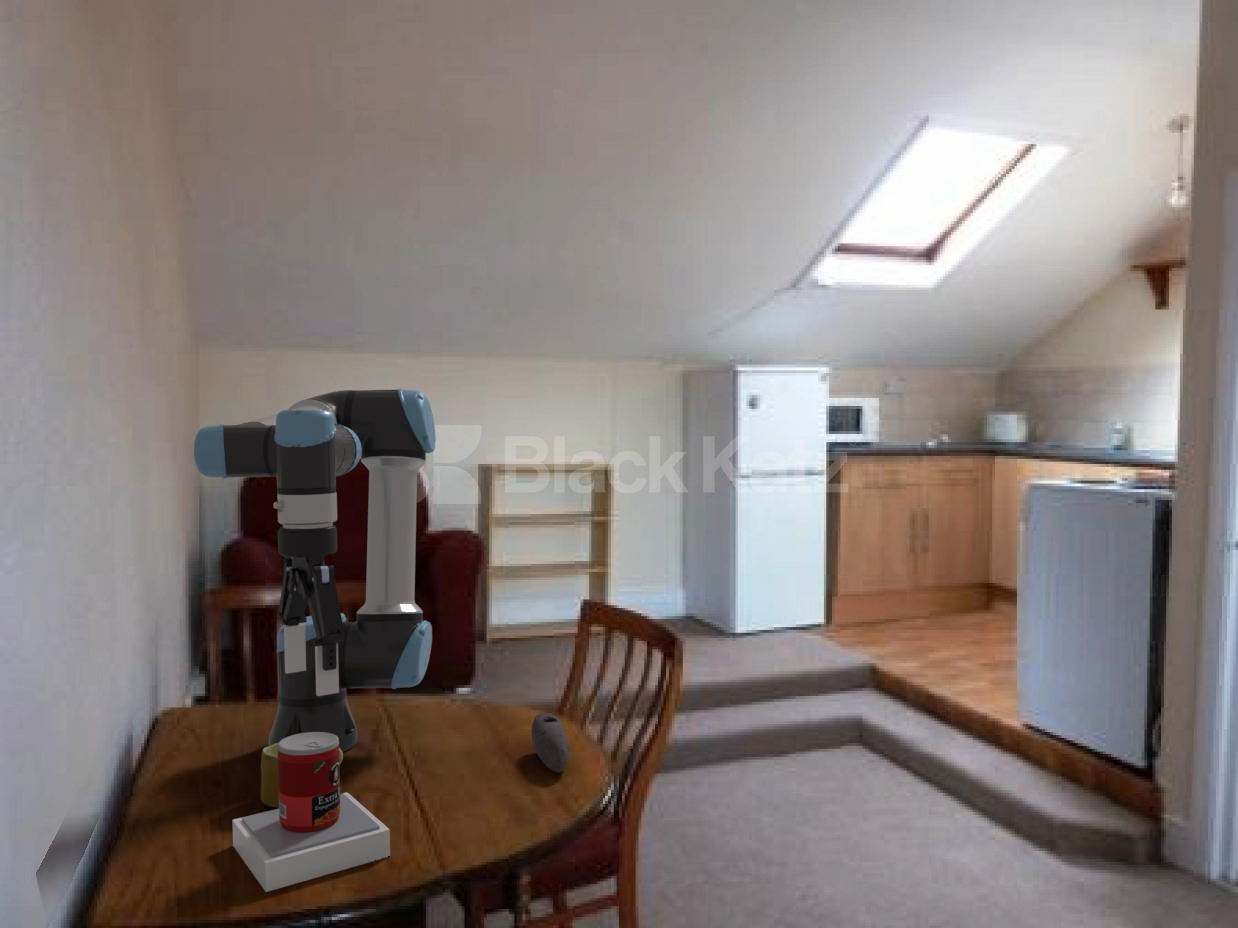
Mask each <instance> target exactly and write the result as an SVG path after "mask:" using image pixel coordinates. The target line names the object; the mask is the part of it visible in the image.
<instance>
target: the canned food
mask: <svg viewBox="0 0 1238 928" xmlns="http://www.w3.org/2000/svg"><path fill="white" fill-rule="evenodd" d="M340 765H341V764H340V760H339V739H338V737H337V736H336V735H334V734H331V733H326V732H307V733H300V734H295V735H292V736H289V737H286V738H284V739H282V740H281V741H280V742H279V743H278V785H279V808H278V809H279V819H280V822H281V825H282V827H283V828H284V829H286V830H288V831H292V832H314V831H319V830H322V829H325V828H328V827H330V826H332V825H333V824H335V823H336V822H337V820H338V818H339V815H340V794H341V782H340V779H341V775H340V774H341V773H340V772H341V771H340V769H341V768H340V767H341V766H340Z"/></svg>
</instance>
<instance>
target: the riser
mask: <svg viewBox="0 0 1238 928" xmlns="http://www.w3.org/2000/svg"><path fill="white" fill-rule="evenodd" d="M231 823H232V824H231V825H232V847H233V848H234V850H235V851H236V852H237V853H238V855H239V856H240V858H241V859H242V861H243V862H244V863H245V865H246V866H247V868H248V869H249V871H251V874H252V875H253V876H254V878H255V879H256V880H257V882H258V883H259V885H260V886H261V887H262V889H263V890H264V892H265V893H267V892H271V891H274V890H275V891H276V890H278V889H282V888H285V887H289V886H292V885H295V884H299V883H302V882H306V881H309V880H313V879H316V878H320V877H323V876H326V875H330V874H334V873H337V872H340V871H344V870H347V869H351V868H354V867H359V866H362V865H365V864H369V863H371V862H376V861H379V860H383V859H387V858H389V857H388V856H390V857H391V829H390V828H388V826H386V825H385V824H384V823H383V822H382V821H381V820H379V819H378V818H377V817H376V816H375V815H374V814H373V813H371V812H370V811H369V810H368V808H366V807H365V806H363V805H362V804H361V803H360V802H359V801H358V800H357V799H356V798H355V797H353V796H352V795H351V794H350V793H348V791H347V792H343V793H340V815H339V818H338V820H337V822H336V823H335V824H333V825H332V826H330V827H328V828H325V829H322V830H319V831H314V832H292V831H288V830H286V829H284V828H283V827H282V825H281V822H280V819H279V808H275V809H271V810H268V811H263V812H259V813H255V814H251V815H247V816H243V817H238V818H234V819H232V822H231ZM382 858H383V859H382ZM375 860H376V861H375Z"/></svg>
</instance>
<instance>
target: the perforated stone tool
mask: <svg viewBox="0 0 1238 928" xmlns="http://www.w3.org/2000/svg"><path fill="white" fill-rule="evenodd" d="M531 742H532V745H533V747H534V750H535V752H536V754H537V757H538V758H539V759H540V760H541V762H542V763H543V764H544V765H545V766H546V768H548V769H549V770H550V771H552V772H554V773H556V774H557V773H562V772H563V771H564V769H565V768H566V766H567V764H568V759H569V745H568V739H567V736H566V732H565V729H564V728H563V725H562V723H561V721H560V720H559V719H558V717H556V715H554V714H553V713H550V712H540V713H539V714H537V715H536V716H535V717H534V719H533V722H532V726H531Z"/></svg>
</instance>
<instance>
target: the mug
mask: <svg viewBox="0 0 1238 928" xmlns="http://www.w3.org/2000/svg"><path fill="white" fill-rule="evenodd" d="M343 758H344V752H342V751H341V749H340V748H339V760H340V765H341V763H342V761H343ZM260 761H261V762H260V771H261V772H260V773H261V774H260V775H261V778H260V780H261V782H260V783H261V785H260V800H261V803H262V804H263V805H264V806H268V807H270V808H275V809H279V785H278V743H275V744H273V745H272V746H269V745H268V746H266V747H263V749H262V750H261V760H260Z"/></svg>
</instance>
